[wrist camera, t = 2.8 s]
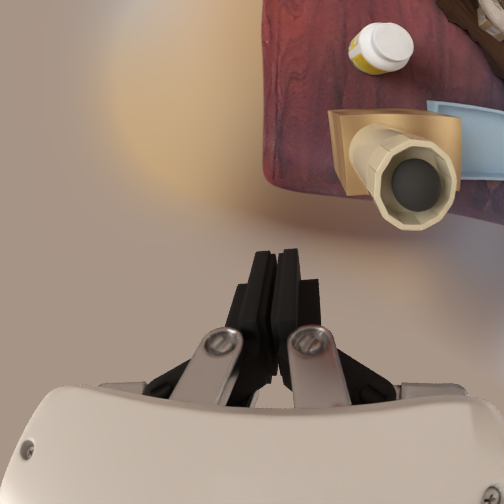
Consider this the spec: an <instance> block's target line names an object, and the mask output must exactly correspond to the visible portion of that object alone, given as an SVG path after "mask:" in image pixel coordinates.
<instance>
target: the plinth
mask: <svg viewBox="0 0 504 504" xmlns="http://www.w3.org/2000/svg"><path fill="white" fill-rule="evenodd" d="M328 118H329V125H330V133H331V142H332V151H333V161H334V169H335V171H336V173H337V175H338V177H339V179H340V181H341V184H342V186H343V188H344V190H345V192H346V194H347V196H351V195H366V194H369V193H368V191H367V190H366V188H365V187H364V185H363V184H362V182H361V181H360V179H359V178H358V177H357V175H356V174H355V172H354V171H353V169H352V167H351V164H350V160H349V147H350V144H351V141H352V139H353V137H354V136H355V134H356V133H357V132H358V131H359V130H360V129H362V128H363V127H365V126H367V125H370V124H375V123H381V124H386V125H389V126H392V127H394V128H397V129H400V130H402V131H405V132H407V133H410V134H412V135H415V136H420V137H422V138H425V139H427V140H429V141H432V142H434V143H435V144H436V145H437V146H438V147H440V148H441V149H442V150H443V151H444V152H445V153H446V154H448V155H449V157H450V158H451V161H452V164H453V167H454V170H455V173H456V176H457V184H456V191H460V182H461V164H462V123H461V118H459V117H455V116H451V115H447V114H442V113H437V112H433V111H428V110H422V109H399V108H365V109H339V110H328Z"/></svg>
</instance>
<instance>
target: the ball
mask: <svg viewBox="0 0 504 504" xmlns="http://www.w3.org/2000/svg"><path fill="white" fill-rule="evenodd" d="M391 185H392V191H393V194H394V196H395V198H396V200H397V201H398V202H399V204H400V205H402V206H403V207H404V208H406V209H408V210H410V211H414V212H423V211H426V210H428V209H430V208H432V207H433V206H434V205H435V204H436V203H437V201H438V199H439V197H440V194H441V180H440V177H439V174H438V172H437V171H436V169H435V168H434V167H433V166H432V165H431V164H430V163H428V162H427V161H425V160H422V159H418V158H412V159H407V160H405V161H403V162H401V163H400V164H399V165H398V166H397V167H396V169H395V171H394V173H393V176H392V182H391Z"/></svg>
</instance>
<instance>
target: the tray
mask: <svg viewBox="0 0 504 504" xmlns="http://www.w3.org/2000/svg"><path fill="white" fill-rule="evenodd" d="M427 110H428V111H433V112H437V113H442V114H447V115H451V116H455V117H459V118H461V123H462V164H461V179H467V180H504V111H501V110H496V109H491V108H485V107H479V106H473V105H466V104H459V103H450V102H441V101H430V100H427Z"/></svg>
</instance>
